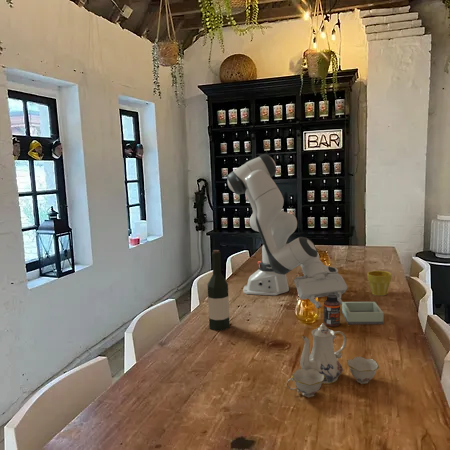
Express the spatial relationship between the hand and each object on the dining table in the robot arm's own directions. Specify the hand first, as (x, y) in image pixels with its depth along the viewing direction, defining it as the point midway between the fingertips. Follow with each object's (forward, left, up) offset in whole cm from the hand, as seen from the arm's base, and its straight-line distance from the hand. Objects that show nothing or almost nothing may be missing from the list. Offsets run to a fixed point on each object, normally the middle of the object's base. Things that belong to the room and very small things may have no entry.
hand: (329, 305), depth 162 cm
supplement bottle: (+1, -1, -8) cm, 8 cm away
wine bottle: (-42, -3, -8) cm, 43 cm away
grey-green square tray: (+13, +6, -7) cm, 16 cm away
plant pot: (+28, +37, -8) cm, 47 cm away
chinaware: (-6, -44, -8) cm, 45 cm away
